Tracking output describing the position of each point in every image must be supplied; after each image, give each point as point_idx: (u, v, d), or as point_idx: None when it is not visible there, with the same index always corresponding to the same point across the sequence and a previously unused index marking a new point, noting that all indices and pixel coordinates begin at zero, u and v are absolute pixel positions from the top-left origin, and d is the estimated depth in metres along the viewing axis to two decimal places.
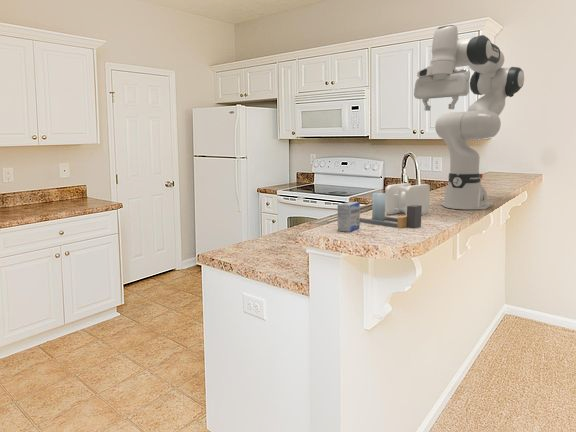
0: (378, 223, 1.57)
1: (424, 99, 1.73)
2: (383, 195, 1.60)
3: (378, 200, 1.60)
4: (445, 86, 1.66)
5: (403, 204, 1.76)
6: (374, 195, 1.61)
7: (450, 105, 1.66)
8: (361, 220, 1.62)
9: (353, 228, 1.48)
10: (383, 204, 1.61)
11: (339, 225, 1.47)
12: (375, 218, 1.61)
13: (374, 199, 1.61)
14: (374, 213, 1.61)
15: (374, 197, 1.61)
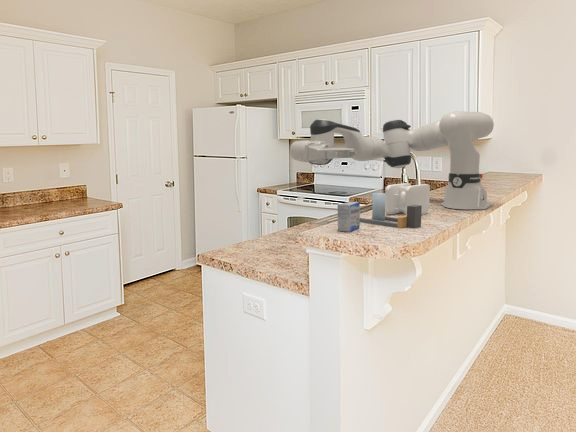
0: (378, 223, 1.57)
1: (328, 151, 1.71)
2: (383, 195, 1.60)
3: (378, 200, 1.60)
4: (336, 148, 1.79)
5: (403, 204, 1.76)
6: (374, 195, 1.61)
7: (353, 151, 1.75)
8: (361, 220, 1.62)
9: (353, 228, 1.48)
10: (383, 204, 1.61)
11: (339, 225, 1.47)
12: (375, 218, 1.61)
13: (374, 199, 1.61)
14: (374, 213, 1.61)
15: (374, 197, 1.61)
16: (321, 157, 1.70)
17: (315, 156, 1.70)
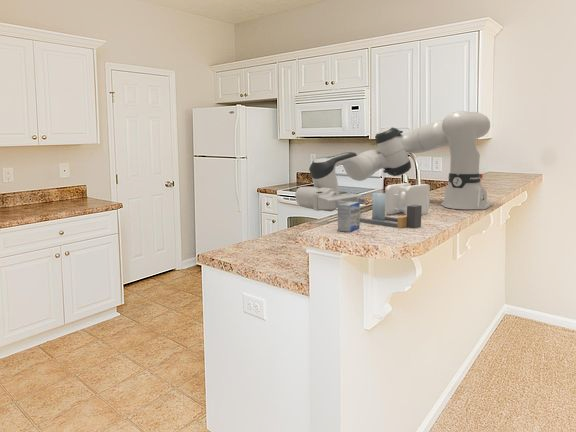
0: (378, 223, 1.57)
1: (339, 200, 1.67)
2: (383, 195, 1.60)
3: (378, 200, 1.60)
4: (345, 195, 1.76)
5: (403, 204, 1.76)
6: (374, 195, 1.61)
7: (362, 198, 1.72)
8: (361, 220, 1.62)
9: (353, 228, 1.48)
10: (383, 204, 1.61)
11: (339, 225, 1.47)
12: (375, 218, 1.61)
13: (374, 199, 1.61)
14: (374, 213, 1.61)
15: (374, 197, 1.61)
16: (332, 207, 1.66)
17: (326, 206, 1.66)
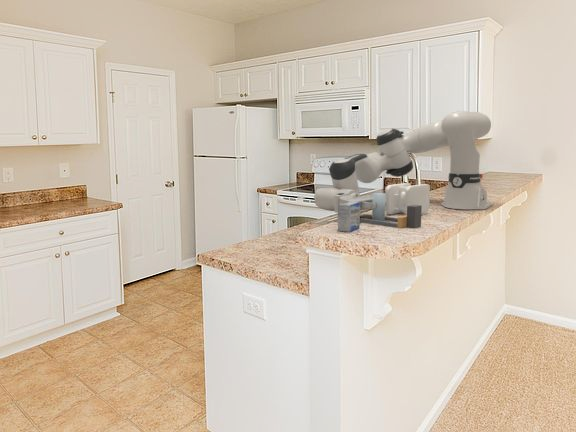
0: (378, 223, 1.57)
1: (365, 202, 1.62)
2: (383, 195, 1.60)
3: (378, 200, 1.60)
4: (367, 197, 1.69)
5: (403, 204, 1.76)
6: (374, 195, 1.61)
7: None
8: (361, 220, 1.62)
9: (353, 228, 1.48)
10: (383, 204, 1.61)
11: (339, 225, 1.47)
12: (375, 218, 1.61)
13: (374, 199, 1.61)
14: (374, 213, 1.61)
15: (374, 197, 1.61)
16: None
17: None
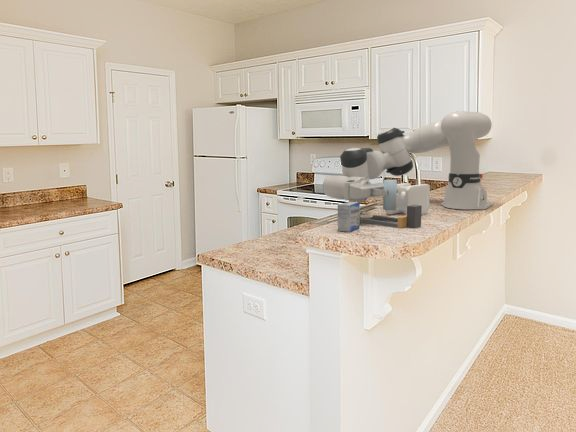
0: (378, 223, 1.57)
1: (375, 189, 1.57)
2: (395, 182, 1.56)
3: (390, 187, 1.56)
4: (377, 184, 1.65)
5: (403, 204, 1.76)
6: (385, 182, 1.56)
7: None
8: (361, 220, 1.62)
9: (353, 228, 1.48)
10: (395, 191, 1.56)
11: (339, 225, 1.47)
12: (386, 205, 1.57)
13: (385, 186, 1.57)
14: (385, 200, 1.57)
15: (385, 184, 1.56)
16: (366, 196, 1.55)
17: (359, 196, 1.55)
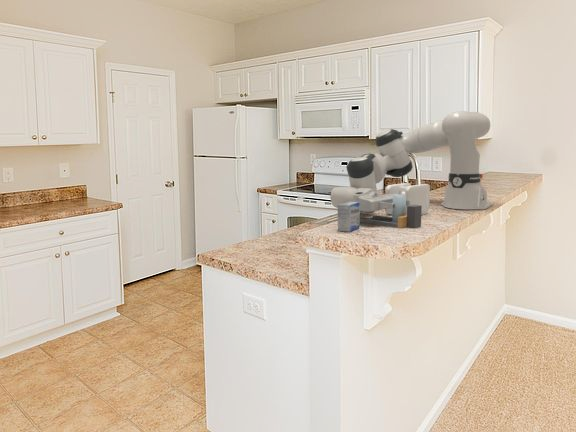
0: (378, 223, 1.57)
1: (381, 202, 1.54)
2: (404, 197, 1.54)
3: (399, 203, 1.54)
4: (386, 196, 1.63)
5: None
6: (394, 197, 1.55)
7: (406, 200, 1.60)
8: (361, 220, 1.62)
9: (353, 228, 1.48)
10: (404, 206, 1.55)
11: (339, 225, 1.47)
12: (395, 221, 1.56)
13: (394, 201, 1.55)
14: (394, 216, 1.56)
15: (394, 199, 1.55)
16: (375, 209, 1.53)
17: (368, 208, 1.53)
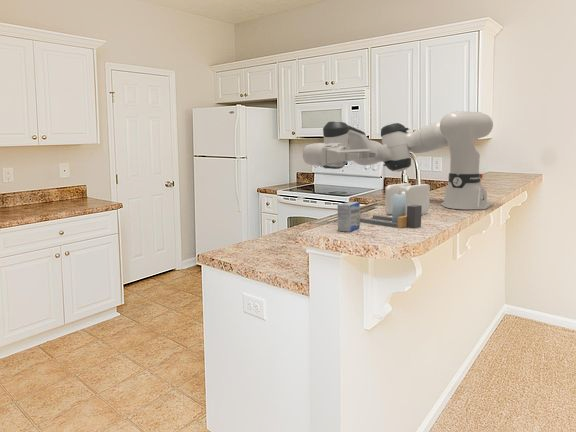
0: (378, 223, 1.57)
1: (348, 153, 1.61)
2: (404, 197, 1.54)
3: (399, 203, 1.54)
4: None
5: None
6: (394, 197, 1.55)
7: (373, 152, 1.67)
8: (361, 220, 1.62)
9: (353, 228, 1.48)
10: (404, 206, 1.55)
11: (339, 225, 1.47)
12: (395, 221, 1.56)
13: (394, 201, 1.55)
14: (394, 216, 1.56)
15: (394, 199, 1.55)
16: (342, 159, 1.60)
17: (335, 159, 1.60)
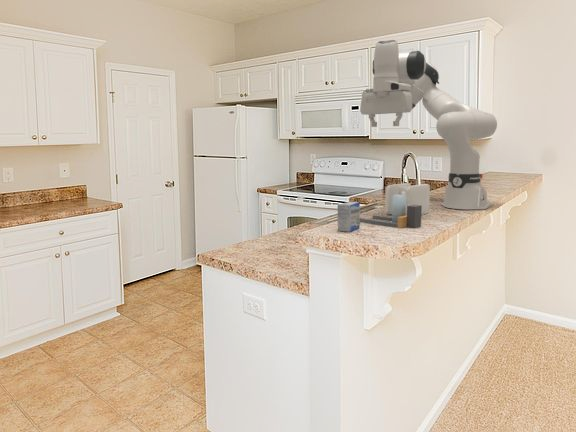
0: (378, 223, 1.57)
1: None
2: (404, 197, 1.54)
3: (399, 203, 1.54)
4: None
5: None
6: (394, 197, 1.55)
7: None
8: (361, 220, 1.62)
9: (353, 228, 1.48)
10: (404, 206, 1.55)
11: (339, 225, 1.47)
12: (395, 221, 1.56)
13: (394, 201, 1.55)
14: (394, 216, 1.56)
15: (394, 199, 1.55)
16: (403, 112, 1.60)
17: (408, 107, 1.59)
